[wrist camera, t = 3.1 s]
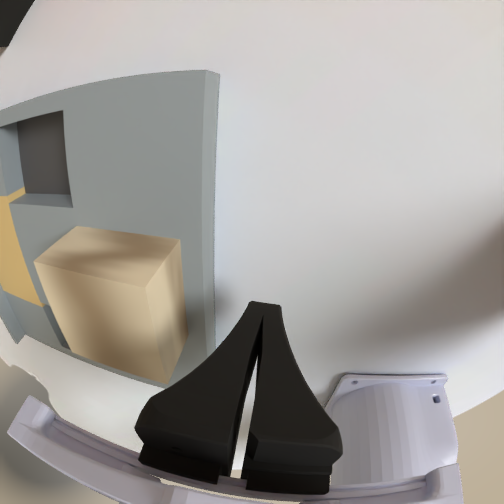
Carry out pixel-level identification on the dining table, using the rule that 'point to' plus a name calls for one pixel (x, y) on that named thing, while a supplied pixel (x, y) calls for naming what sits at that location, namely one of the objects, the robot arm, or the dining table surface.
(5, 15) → the cleaning product box
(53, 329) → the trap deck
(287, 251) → the dining table surface
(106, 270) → the birch block
